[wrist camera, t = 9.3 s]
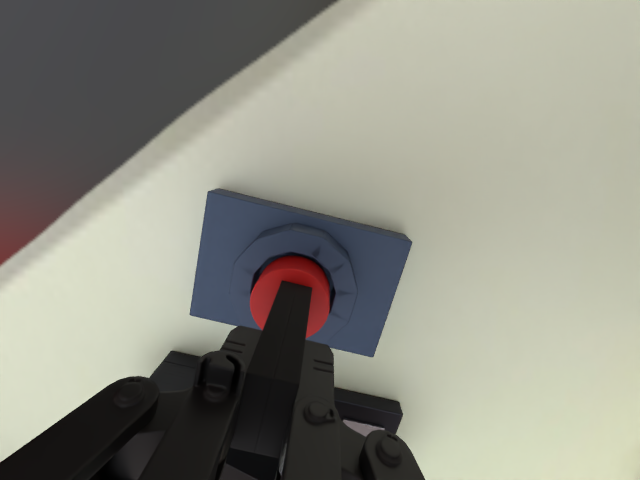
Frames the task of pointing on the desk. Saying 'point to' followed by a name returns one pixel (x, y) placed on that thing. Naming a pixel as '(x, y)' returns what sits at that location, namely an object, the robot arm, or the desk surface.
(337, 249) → the button housing
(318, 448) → the robot arm
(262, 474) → the stapler arm
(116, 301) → the desk surface
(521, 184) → the desk surface
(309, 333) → the call button
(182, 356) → the stapler base
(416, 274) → the desk surface
